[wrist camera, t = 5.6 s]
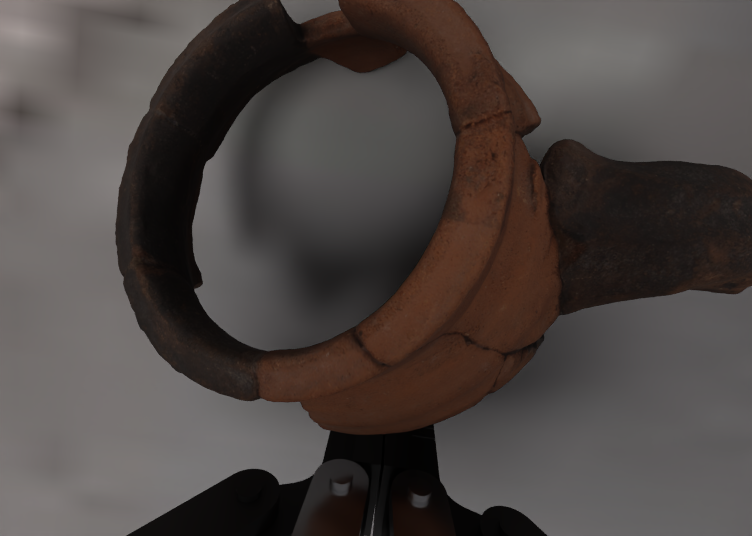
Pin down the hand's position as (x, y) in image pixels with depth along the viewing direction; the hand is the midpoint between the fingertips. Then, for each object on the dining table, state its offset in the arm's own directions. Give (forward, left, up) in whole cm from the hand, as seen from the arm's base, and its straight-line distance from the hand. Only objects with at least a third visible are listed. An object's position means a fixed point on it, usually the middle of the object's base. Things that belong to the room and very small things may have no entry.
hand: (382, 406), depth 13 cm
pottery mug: (0, -6, -1) cm, 6 cm away
